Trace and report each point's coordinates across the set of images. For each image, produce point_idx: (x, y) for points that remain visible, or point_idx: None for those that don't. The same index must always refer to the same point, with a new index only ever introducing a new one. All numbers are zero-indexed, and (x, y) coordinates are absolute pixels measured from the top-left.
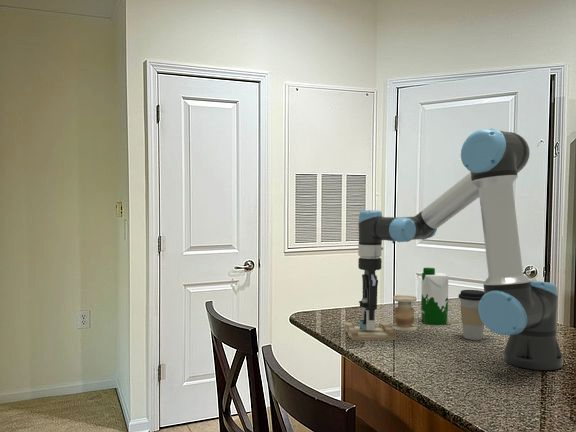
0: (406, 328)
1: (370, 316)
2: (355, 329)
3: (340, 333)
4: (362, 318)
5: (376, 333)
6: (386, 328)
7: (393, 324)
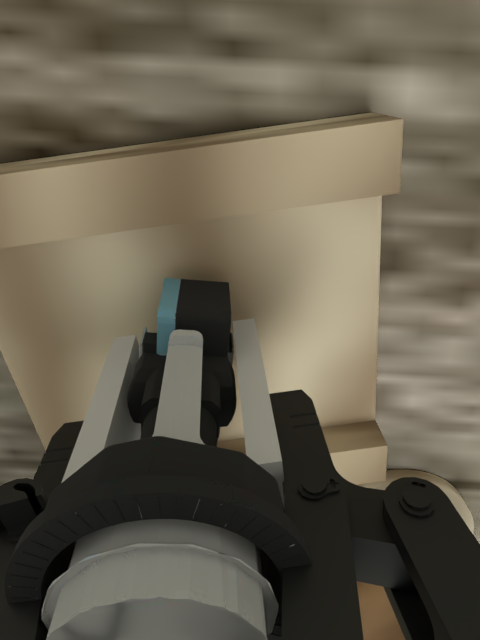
0: None
1: (46, 464)
2: (40, 235)
3: (222, 55)
4: (169, 355)
5: None
6: None
7: None
